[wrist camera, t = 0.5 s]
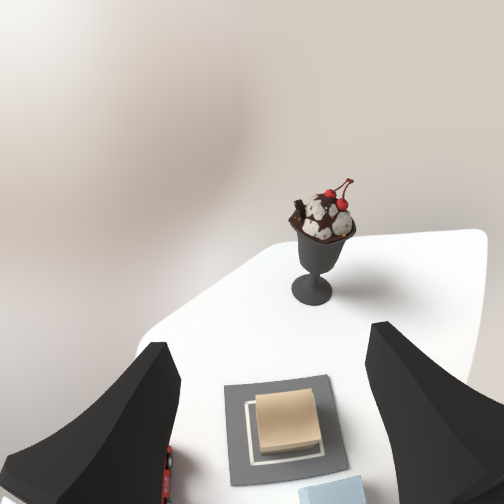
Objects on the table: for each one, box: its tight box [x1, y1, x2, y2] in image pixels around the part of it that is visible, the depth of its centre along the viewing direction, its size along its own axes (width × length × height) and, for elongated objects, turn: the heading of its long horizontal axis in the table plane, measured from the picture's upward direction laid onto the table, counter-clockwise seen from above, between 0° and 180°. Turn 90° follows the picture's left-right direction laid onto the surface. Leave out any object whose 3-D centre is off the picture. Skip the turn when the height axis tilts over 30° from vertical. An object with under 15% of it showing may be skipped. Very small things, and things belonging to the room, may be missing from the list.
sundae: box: [289, 178, 356, 305], centre depth 31 cm, size 7×7×15 cm
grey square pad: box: [224, 374, 348, 486], centre depth 23 cm, size 10×10×1 cm
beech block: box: [256, 388, 321, 455], centre depth 21 cm, size 4×4×4 cm
